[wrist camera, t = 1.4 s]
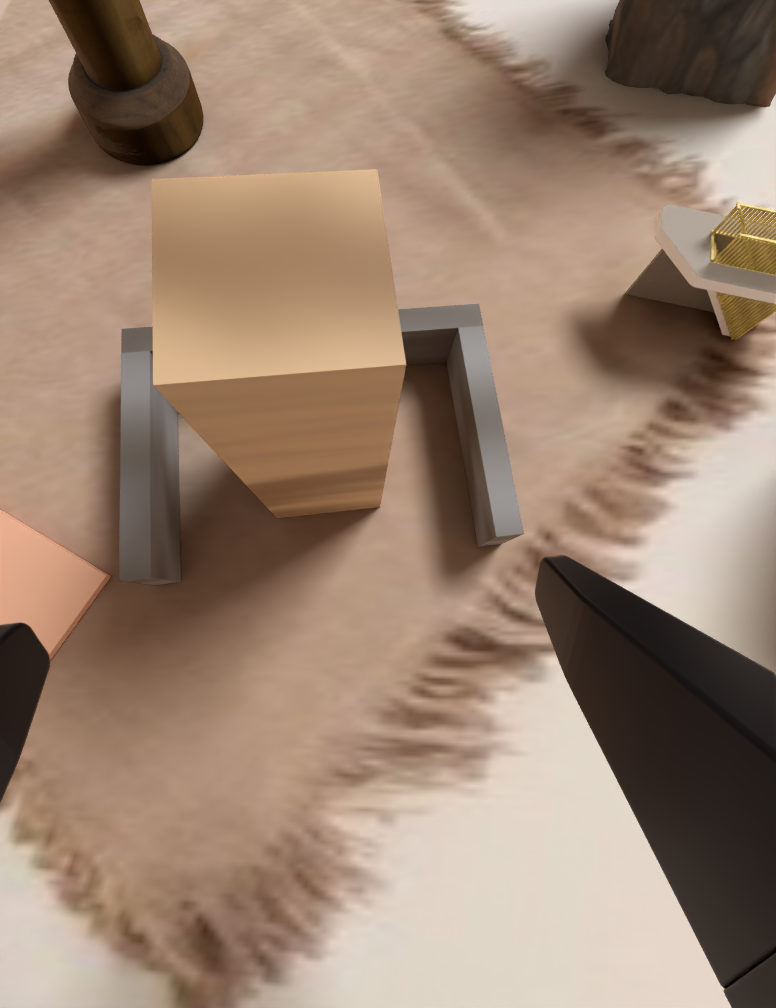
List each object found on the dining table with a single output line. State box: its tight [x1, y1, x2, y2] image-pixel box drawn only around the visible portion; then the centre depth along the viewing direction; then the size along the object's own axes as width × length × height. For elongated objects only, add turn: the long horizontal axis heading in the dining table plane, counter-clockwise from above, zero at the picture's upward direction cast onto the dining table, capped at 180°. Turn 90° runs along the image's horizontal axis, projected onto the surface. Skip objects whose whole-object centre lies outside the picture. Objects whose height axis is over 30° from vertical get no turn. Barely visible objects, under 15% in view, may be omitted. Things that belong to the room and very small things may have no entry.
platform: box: [626, 202, 776, 341], centre depth 23 cm, size 12×18×7 cm, turn 79°
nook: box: [119, 304, 524, 585], centre depth 21 cm, size 11×16×3 cm
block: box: [152, 169, 406, 518], centre depth 16 cm, size 5×5×13 cm
